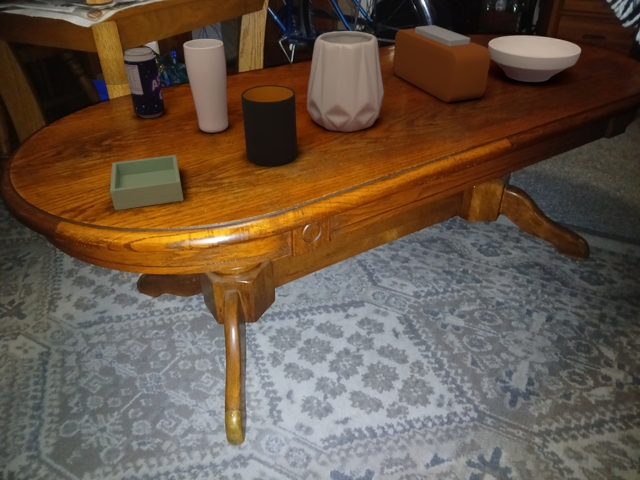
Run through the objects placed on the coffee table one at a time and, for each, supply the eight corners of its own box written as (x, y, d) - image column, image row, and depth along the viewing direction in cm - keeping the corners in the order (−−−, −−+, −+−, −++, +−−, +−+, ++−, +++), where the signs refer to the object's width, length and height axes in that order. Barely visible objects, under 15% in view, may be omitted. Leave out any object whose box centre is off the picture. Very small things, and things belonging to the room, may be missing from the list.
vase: (376, 139, 90) (381, 49, 81) (298, 132, 92) (295, 44, 84) (386, 111, 101) (392, 29, 92) (317, 106, 104) (316, 26, 95)
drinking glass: (234, 121, 97) (225, 38, 89) (231, 134, 92) (221, 48, 83) (197, 122, 97) (185, 38, 88) (192, 136, 91) (179, 48, 83)
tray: (115, 210, 70) (109, 191, 68) (116, 180, 77) (112, 162, 76) (183, 200, 72) (180, 181, 71) (179, 172, 80) (175, 154, 78)
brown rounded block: (484, 100, 106) (494, 42, 100) (449, 105, 103) (458, 47, 97) (422, 69, 124) (427, 19, 118) (391, 73, 122) (395, 22, 115)
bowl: (514, 61, 130) (520, 31, 126) (589, 79, 117) (598, 46, 113) (465, 76, 120) (470, 44, 116) (541, 97, 107) (550, 62, 103)
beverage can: (161, 119, 98) (149, 54, 91) (131, 119, 98) (117, 55, 91) (168, 109, 103) (157, 47, 96) (140, 109, 103) (127, 47, 96)
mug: (265, 134, 92) (261, 76, 86) (307, 156, 84) (306, 94, 78) (225, 147, 87) (218, 86, 81) (265, 171, 80) (261, 106, 74)
